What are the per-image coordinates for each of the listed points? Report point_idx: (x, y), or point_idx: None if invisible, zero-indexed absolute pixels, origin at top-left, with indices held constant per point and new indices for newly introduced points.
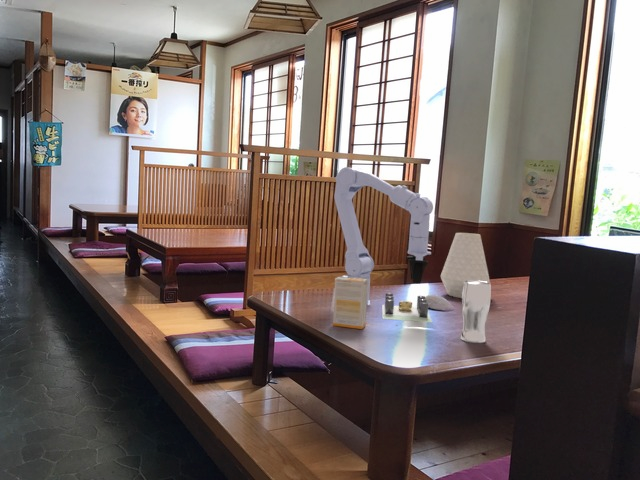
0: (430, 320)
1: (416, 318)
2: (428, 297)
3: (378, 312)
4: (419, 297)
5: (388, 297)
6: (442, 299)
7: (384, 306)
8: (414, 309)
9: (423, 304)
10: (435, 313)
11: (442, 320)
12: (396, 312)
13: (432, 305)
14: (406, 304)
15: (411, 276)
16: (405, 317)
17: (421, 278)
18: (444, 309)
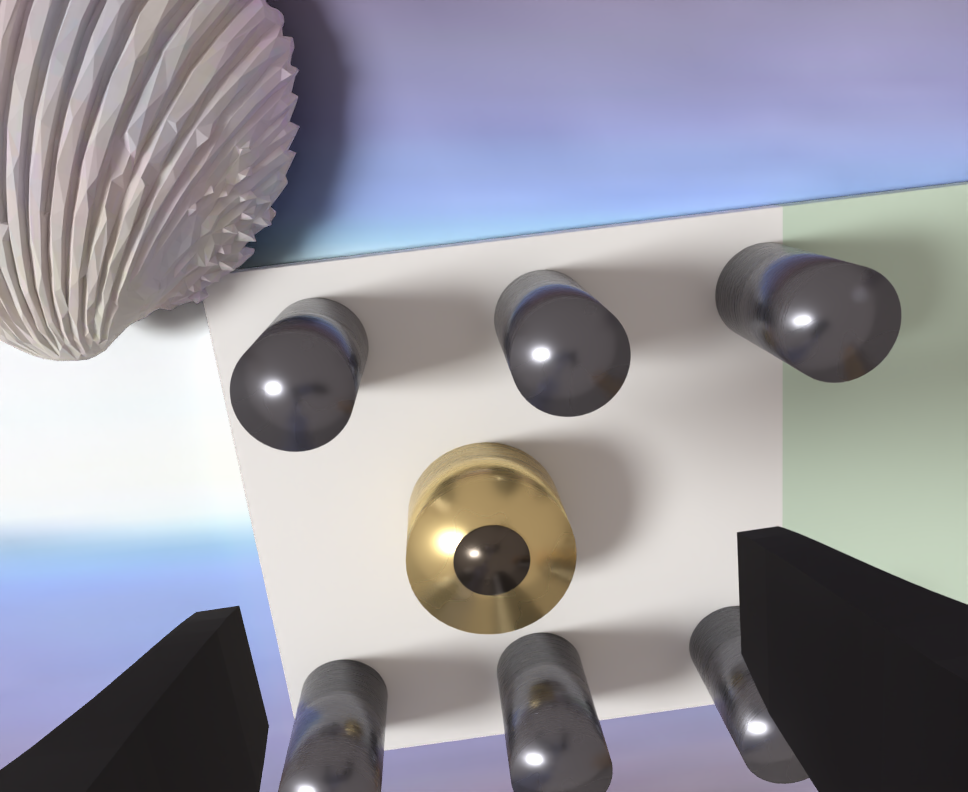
0: (935, 201)
1: None
2: (87, 281)
3: (617, 734)
4: (348, 417)
5: (608, 780)
6: (73, 36)
7: (393, 728)
8: (389, 416)
9: (893, 331)
10: (377, 146)
11: (757, 50)
12: (650, 584)
13: (245, 198)
14: (572, 535)
15: (259, 769)
16: (866, 475)
17: (847, 558)
18: (271, 13)
